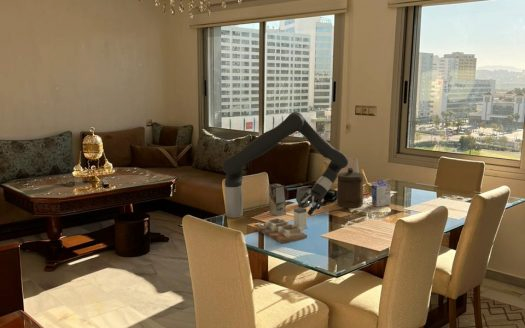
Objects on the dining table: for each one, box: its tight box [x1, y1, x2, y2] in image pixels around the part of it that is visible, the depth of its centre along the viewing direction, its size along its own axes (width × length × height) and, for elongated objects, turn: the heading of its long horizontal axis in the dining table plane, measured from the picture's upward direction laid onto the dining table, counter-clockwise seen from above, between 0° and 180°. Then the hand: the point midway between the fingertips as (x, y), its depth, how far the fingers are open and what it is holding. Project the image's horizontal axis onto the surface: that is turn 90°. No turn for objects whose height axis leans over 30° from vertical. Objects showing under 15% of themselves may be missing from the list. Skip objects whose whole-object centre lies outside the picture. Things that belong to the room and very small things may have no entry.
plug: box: [293, 206, 307, 230], centre depth 244 cm, size 4×4×10 cm
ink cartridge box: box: [371, 179, 392, 208], centre depth 280 cm, size 10×6×14 cm, turn 112°
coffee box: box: [268, 183, 287, 217], centre depth 269 cm, size 9×6×16 cm
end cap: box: [323, 188, 337, 203], centre depth 294 cm, size 10×7×7 cm
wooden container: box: [336, 167, 364, 209], centre depth 282 cm, size 15×15×22 cm
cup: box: [295, 187, 312, 208], centre depth 283 cm, size 10×9×10 cm
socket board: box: [255, 217, 308, 244], centre depth 236 cm, size 24×14×4 cm, turn 30°
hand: (303, 212), depth 244 cm, fingers open, 8 cm apart
